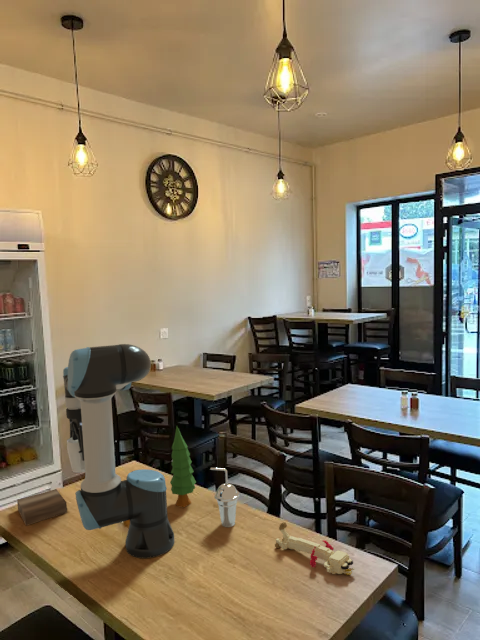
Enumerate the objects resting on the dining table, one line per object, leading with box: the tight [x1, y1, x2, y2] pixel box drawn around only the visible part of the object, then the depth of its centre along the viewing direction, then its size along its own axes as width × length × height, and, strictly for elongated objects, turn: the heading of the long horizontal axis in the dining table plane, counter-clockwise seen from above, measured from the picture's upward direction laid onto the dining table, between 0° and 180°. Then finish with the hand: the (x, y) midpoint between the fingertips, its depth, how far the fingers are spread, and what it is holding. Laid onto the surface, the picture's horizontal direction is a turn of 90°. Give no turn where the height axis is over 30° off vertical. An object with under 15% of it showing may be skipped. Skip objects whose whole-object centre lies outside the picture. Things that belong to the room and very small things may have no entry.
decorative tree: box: [170, 425, 197, 508], centre depth 175 cm, size 10×9×30 cm
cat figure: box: [274, 521, 355, 576], centre depth 138 cm, size 10×9×25 cm
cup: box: [66, 437, 85, 474], centre depth 181 cm, size 9×9×12 cm
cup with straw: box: [209, 467, 241, 528], centre depth 159 cm, size 8×9×20 cm
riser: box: [16, 488, 68, 526], centre depth 174 cm, size 14×14×4 cm
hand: (80, 464), depth 181 cm, fingers closed on cup, 9 cm apart
